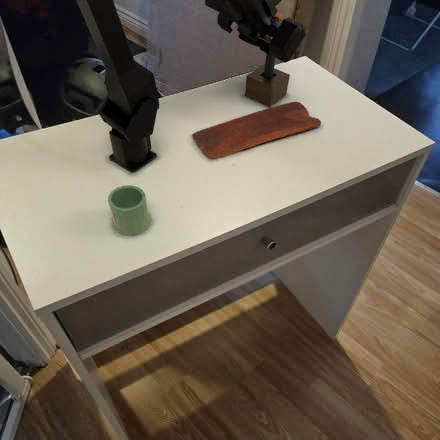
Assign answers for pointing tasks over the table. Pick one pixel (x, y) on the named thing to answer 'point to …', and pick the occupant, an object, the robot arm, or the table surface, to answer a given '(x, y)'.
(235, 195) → the table surface
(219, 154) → the wooden tablet
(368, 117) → the table surface
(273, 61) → the stylus
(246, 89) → the pen stand
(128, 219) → the pen cup
